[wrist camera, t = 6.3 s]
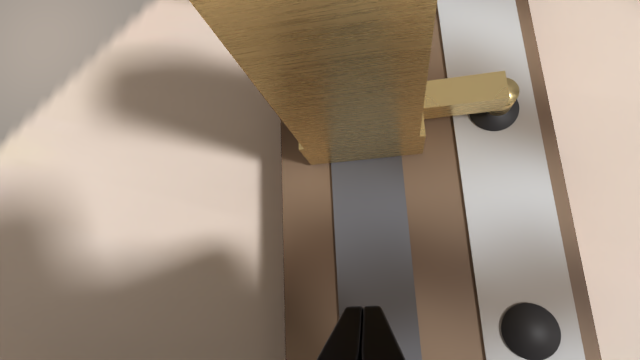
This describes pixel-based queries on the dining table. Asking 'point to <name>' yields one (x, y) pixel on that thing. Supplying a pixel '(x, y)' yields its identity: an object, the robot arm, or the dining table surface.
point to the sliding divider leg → (350, 72)
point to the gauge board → (446, 220)
